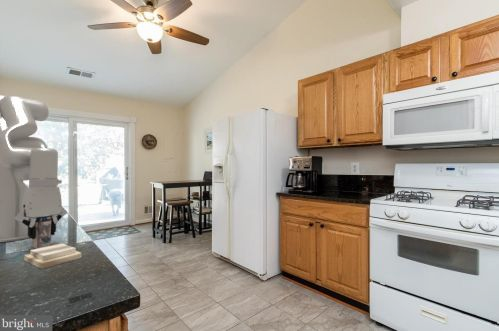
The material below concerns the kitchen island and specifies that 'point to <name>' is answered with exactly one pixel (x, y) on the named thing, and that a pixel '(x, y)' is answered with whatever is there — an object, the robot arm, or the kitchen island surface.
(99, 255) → the kitchen island surface
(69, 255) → the stacking base
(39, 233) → the beer can
